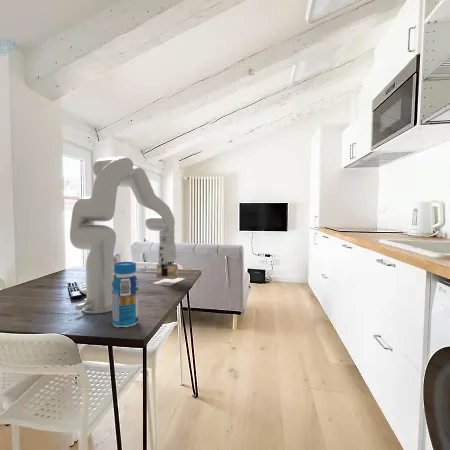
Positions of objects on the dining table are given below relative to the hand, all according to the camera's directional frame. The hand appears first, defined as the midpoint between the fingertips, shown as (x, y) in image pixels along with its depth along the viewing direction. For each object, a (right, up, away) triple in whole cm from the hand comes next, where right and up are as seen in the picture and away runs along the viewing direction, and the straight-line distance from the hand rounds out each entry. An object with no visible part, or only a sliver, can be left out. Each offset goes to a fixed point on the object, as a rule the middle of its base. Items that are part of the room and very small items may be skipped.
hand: (167, 274), depth 151 cm
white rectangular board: (+1, -4, +4) cm, 6 cm away
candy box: (-25, -5, -13) cm, 29 cm away
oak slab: (0, -2, 0) cm, 2 cm away
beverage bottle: (-3, -7, -55) cm, 55 cm away
